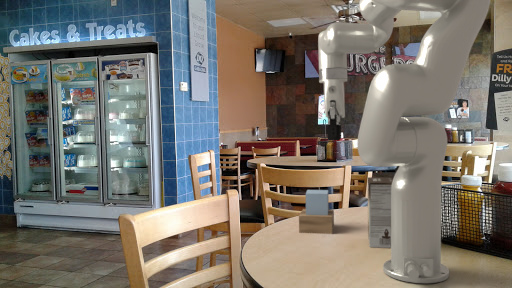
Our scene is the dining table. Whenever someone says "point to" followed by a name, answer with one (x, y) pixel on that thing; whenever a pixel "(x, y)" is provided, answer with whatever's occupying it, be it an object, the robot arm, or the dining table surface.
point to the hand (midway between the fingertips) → (334, 139)
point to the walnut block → (316, 223)
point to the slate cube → (317, 202)
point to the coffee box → (379, 211)
